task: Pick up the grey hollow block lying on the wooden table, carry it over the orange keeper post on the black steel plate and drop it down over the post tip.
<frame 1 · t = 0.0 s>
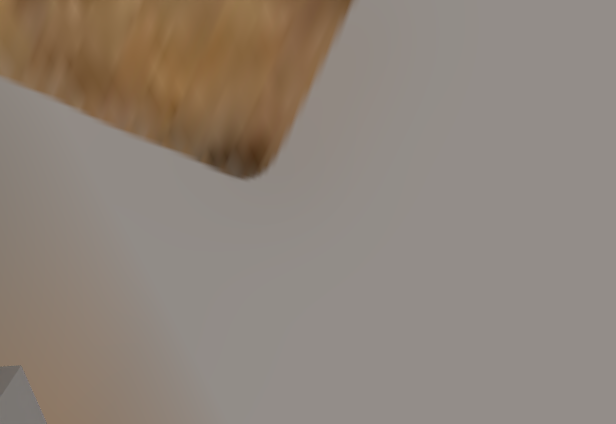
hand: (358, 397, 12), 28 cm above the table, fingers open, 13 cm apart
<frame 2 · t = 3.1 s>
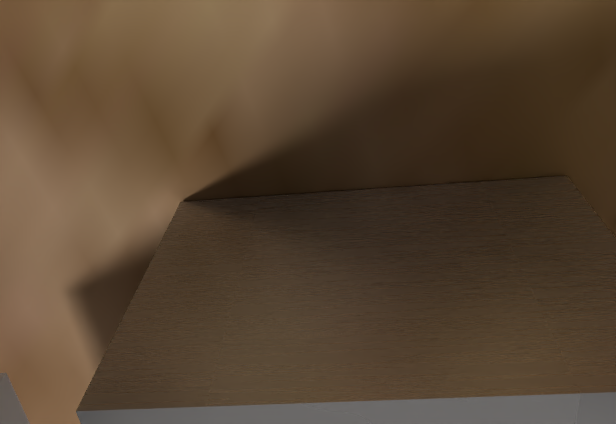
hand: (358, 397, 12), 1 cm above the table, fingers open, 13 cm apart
grey hollow block: (376, 337, 12), on the table
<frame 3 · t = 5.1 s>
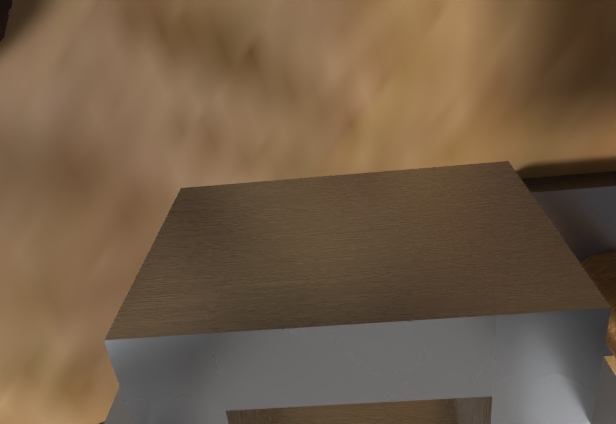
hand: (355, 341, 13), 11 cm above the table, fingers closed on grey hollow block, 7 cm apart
grey hollow block: (352, 306, 14), point 9 cm above the table, touching gripper
keeper: (590, 261, 24), on the table
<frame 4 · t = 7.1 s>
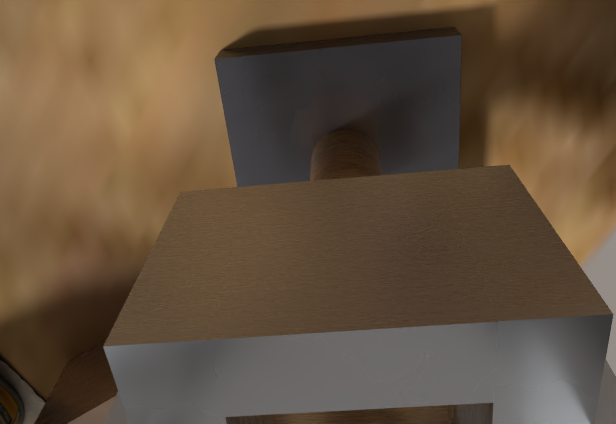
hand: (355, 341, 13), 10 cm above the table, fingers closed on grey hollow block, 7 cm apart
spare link: (172, 376, 28), on the table
grey hollow block: (352, 310, 14), point 9 cm above the table, touching gripper
keeper: (344, 147, 22), on the table
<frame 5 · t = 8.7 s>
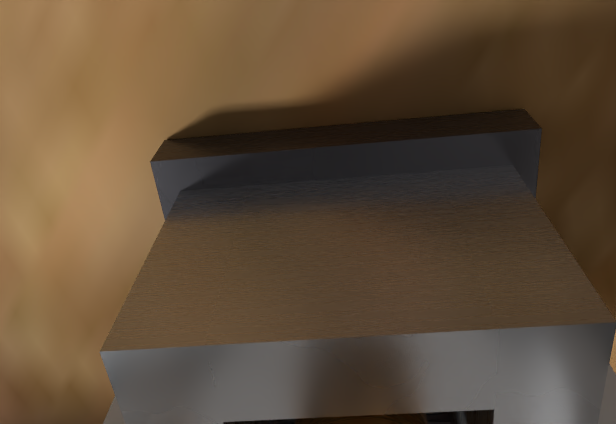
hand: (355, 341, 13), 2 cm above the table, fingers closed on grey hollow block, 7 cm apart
grey hollow block: (353, 310, 14), point 1 cm above the table, touching gripper, keeper
keeper: (352, 273, 15), on the table
when the fingers open (2 cm above the table, at t = 9.5 s): grey hollow block stays where it is, resting on keeper.
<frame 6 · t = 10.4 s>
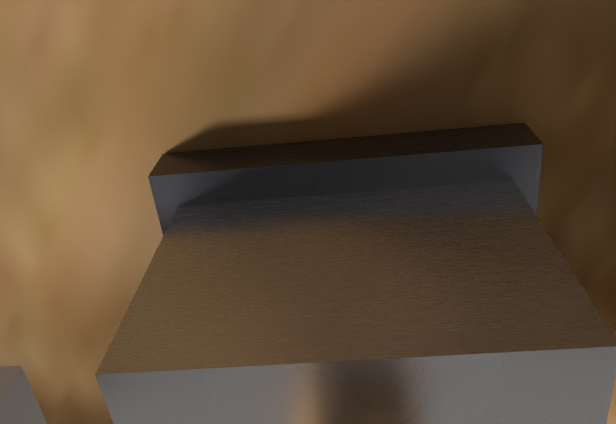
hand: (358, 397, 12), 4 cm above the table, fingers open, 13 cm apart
grey hollow block: (353, 325, 14), point 1 cm above the table, touching keeper
keeper: (352, 287, 15), on the table
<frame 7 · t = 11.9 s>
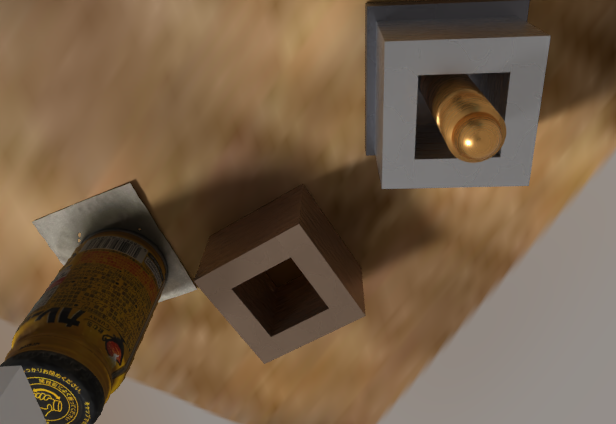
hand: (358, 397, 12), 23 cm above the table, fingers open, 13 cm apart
condiment: (118, 253, 38), on the table
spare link: (286, 252, 37), on the table
grey hollow block: (441, 87, 31), point 1 cm above the table, touching keeper
keeper: (438, 76, 32), on the table
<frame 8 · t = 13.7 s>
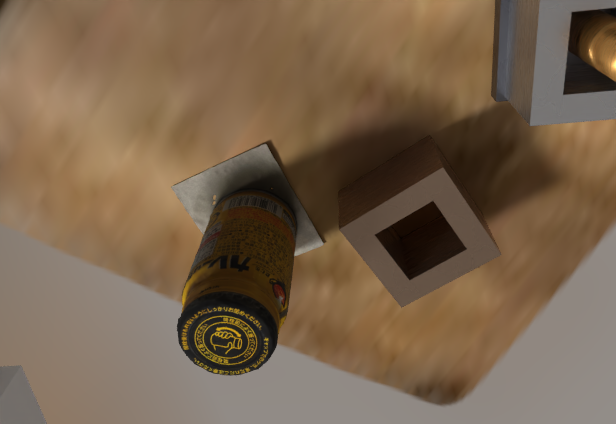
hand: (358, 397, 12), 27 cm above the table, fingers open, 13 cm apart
condiment: (249, 213, 40), on the table
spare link: (410, 203, 39), on the table
grey hollow block: (572, 29, 33), point 1 cm above the table, touching keeper
keeper: (565, 21, 33), on the table
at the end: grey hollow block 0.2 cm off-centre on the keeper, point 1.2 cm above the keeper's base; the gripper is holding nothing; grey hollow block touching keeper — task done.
